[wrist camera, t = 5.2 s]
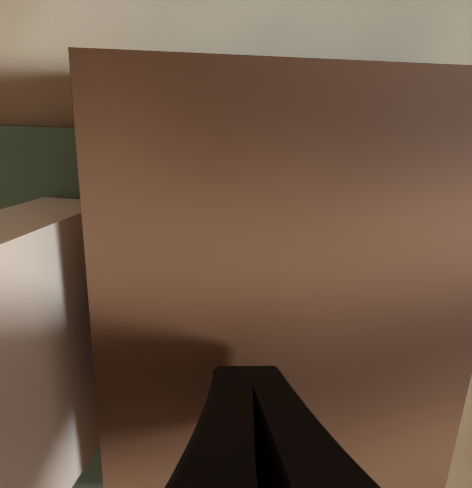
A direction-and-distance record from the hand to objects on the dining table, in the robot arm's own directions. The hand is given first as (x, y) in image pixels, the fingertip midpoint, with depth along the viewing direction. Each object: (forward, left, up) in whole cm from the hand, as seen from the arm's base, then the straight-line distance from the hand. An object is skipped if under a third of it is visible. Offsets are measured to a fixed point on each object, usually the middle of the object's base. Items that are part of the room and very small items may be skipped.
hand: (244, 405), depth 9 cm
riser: (0, -1, -5) cm, 5 cm away
